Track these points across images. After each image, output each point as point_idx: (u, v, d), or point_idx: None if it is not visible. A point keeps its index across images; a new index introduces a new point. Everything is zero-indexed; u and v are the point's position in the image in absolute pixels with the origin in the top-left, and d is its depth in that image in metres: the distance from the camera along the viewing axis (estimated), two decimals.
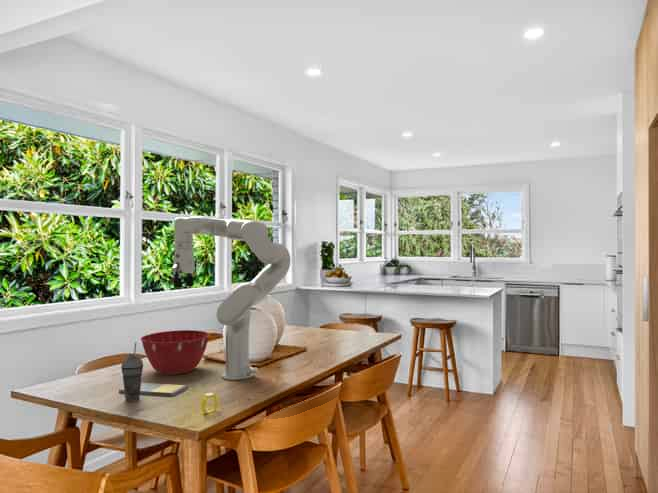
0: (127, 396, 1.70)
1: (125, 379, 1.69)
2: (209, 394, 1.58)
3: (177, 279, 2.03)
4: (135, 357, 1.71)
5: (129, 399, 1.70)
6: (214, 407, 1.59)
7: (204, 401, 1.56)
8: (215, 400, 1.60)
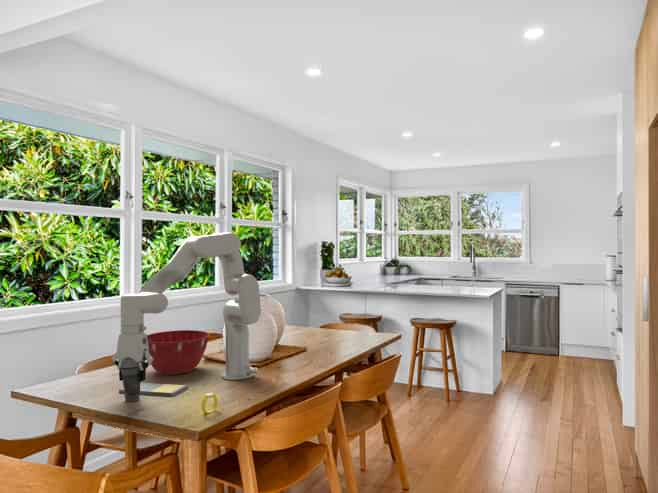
0: (127, 396, 1.70)
1: (124, 379, 1.69)
2: (209, 394, 1.57)
3: (144, 370, 1.72)
4: None
5: (129, 399, 1.70)
6: (214, 407, 1.59)
7: (204, 401, 1.55)
8: (215, 400, 1.60)
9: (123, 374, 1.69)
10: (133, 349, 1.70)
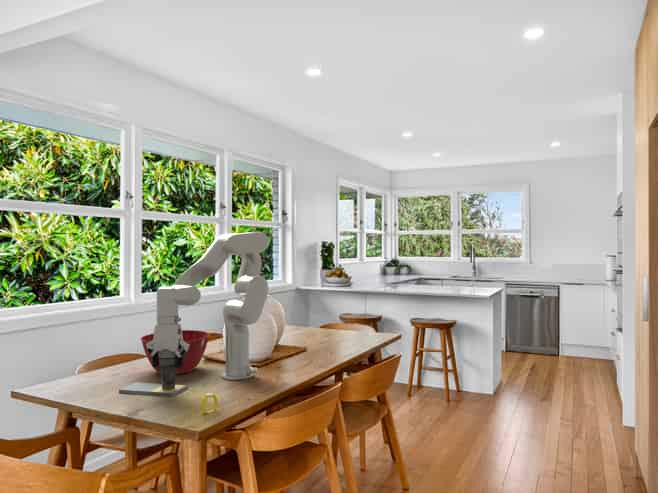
0: (164, 385, 1.79)
1: (162, 368, 1.79)
2: (209, 394, 1.58)
3: (182, 357, 1.80)
4: None
5: (166, 387, 1.79)
6: (214, 407, 1.59)
7: (204, 401, 1.56)
8: (215, 400, 1.60)
9: (161, 364, 1.79)
10: (169, 339, 1.79)
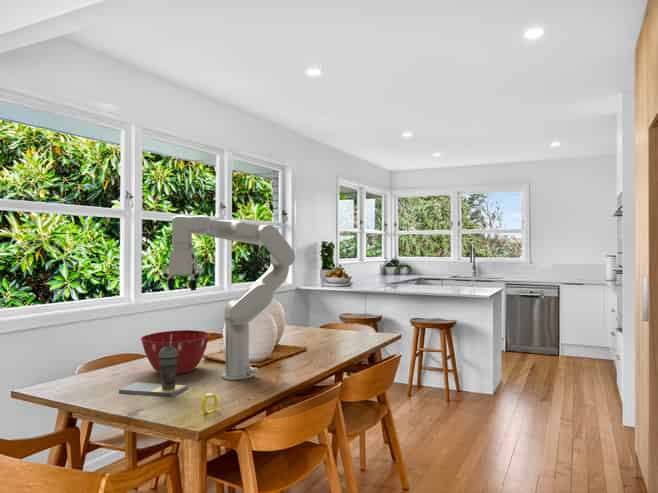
0: (164, 385, 1.79)
1: (162, 369, 1.79)
2: (209, 394, 1.57)
3: (196, 280, 1.95)
4: (171, 348, 1.80)
5: (166, 388, 1.79)
6: (214, 407, 1.59)
7: (204, 401, 1.56)
8: (215, 400, 1.60)
9: (161, 364, 1.79)
10: (183, 263, 1.93)
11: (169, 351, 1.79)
